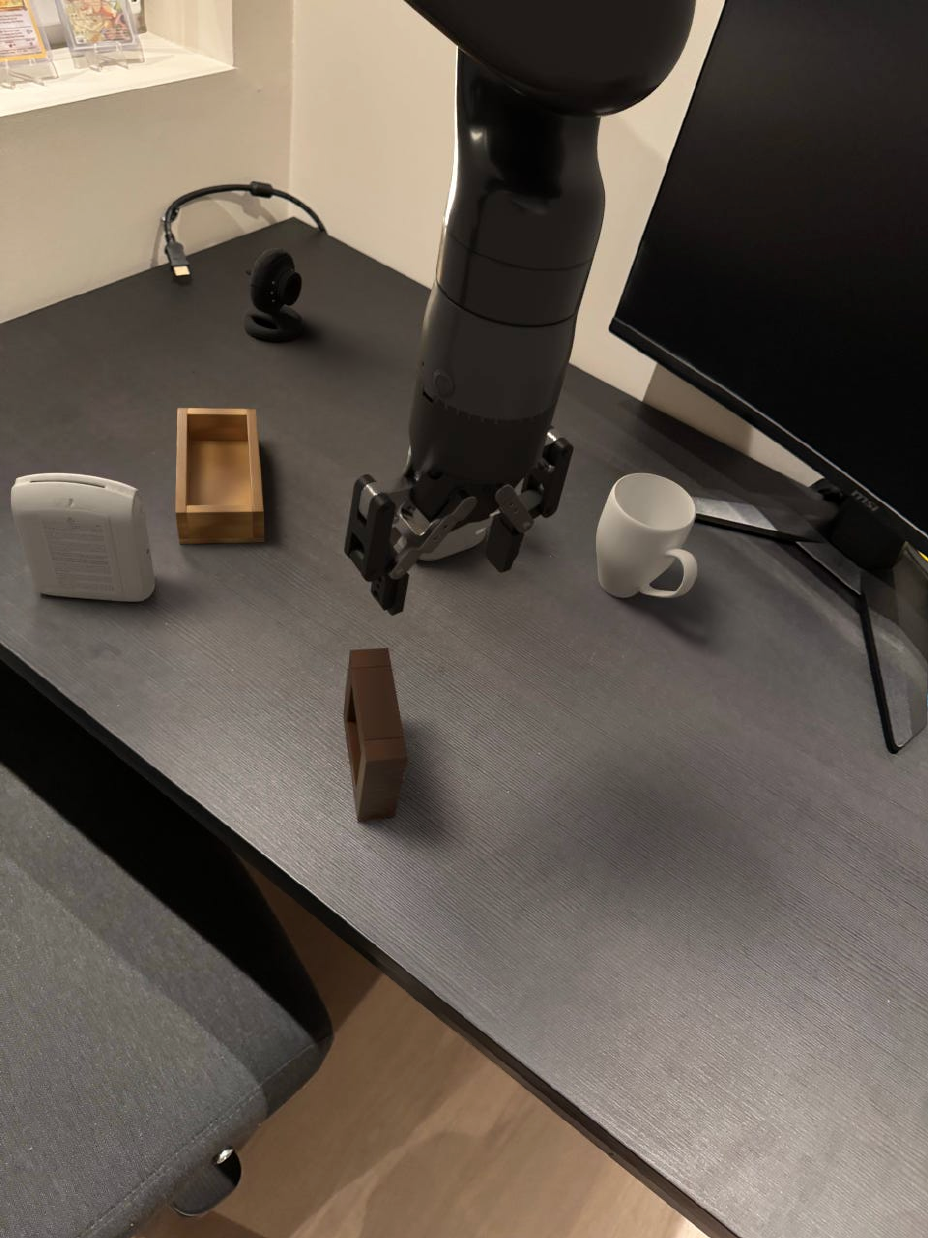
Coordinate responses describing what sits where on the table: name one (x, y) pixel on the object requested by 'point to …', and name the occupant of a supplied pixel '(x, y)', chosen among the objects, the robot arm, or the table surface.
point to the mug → (644, 535)
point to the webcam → (274, 296)
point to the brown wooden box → (374, 734)
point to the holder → (218, 476)
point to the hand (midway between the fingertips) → (444, 583)
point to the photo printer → (83, 536)
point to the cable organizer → (452, 535)
